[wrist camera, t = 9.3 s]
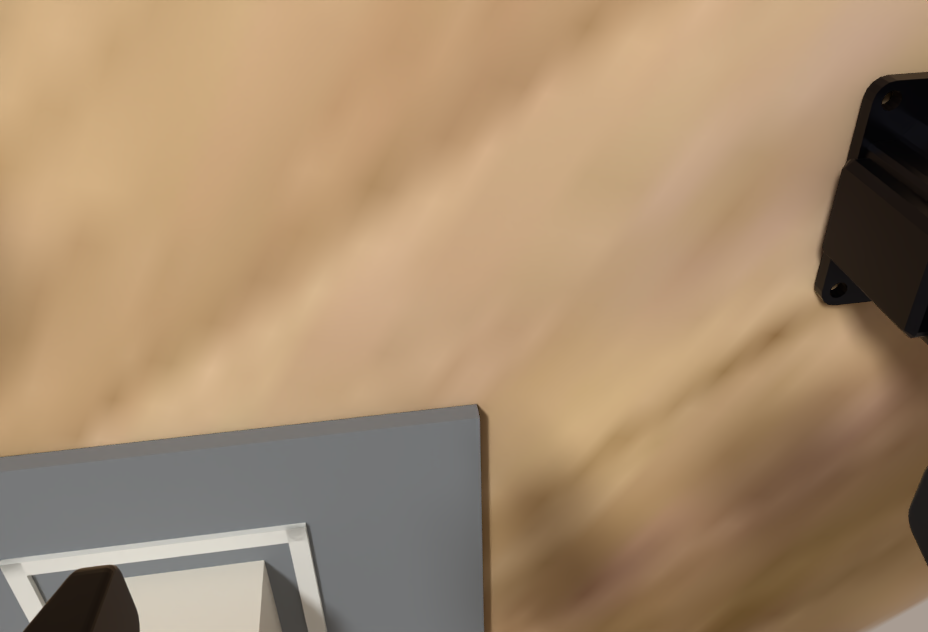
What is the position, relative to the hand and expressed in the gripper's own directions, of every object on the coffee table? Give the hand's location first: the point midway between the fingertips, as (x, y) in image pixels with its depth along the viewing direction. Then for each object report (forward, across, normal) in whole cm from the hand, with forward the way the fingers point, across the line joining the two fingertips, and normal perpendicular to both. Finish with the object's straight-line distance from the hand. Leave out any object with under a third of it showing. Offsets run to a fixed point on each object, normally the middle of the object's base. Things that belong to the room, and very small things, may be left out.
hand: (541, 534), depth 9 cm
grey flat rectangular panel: (+12, +7, +15) cm, 21 cm away
